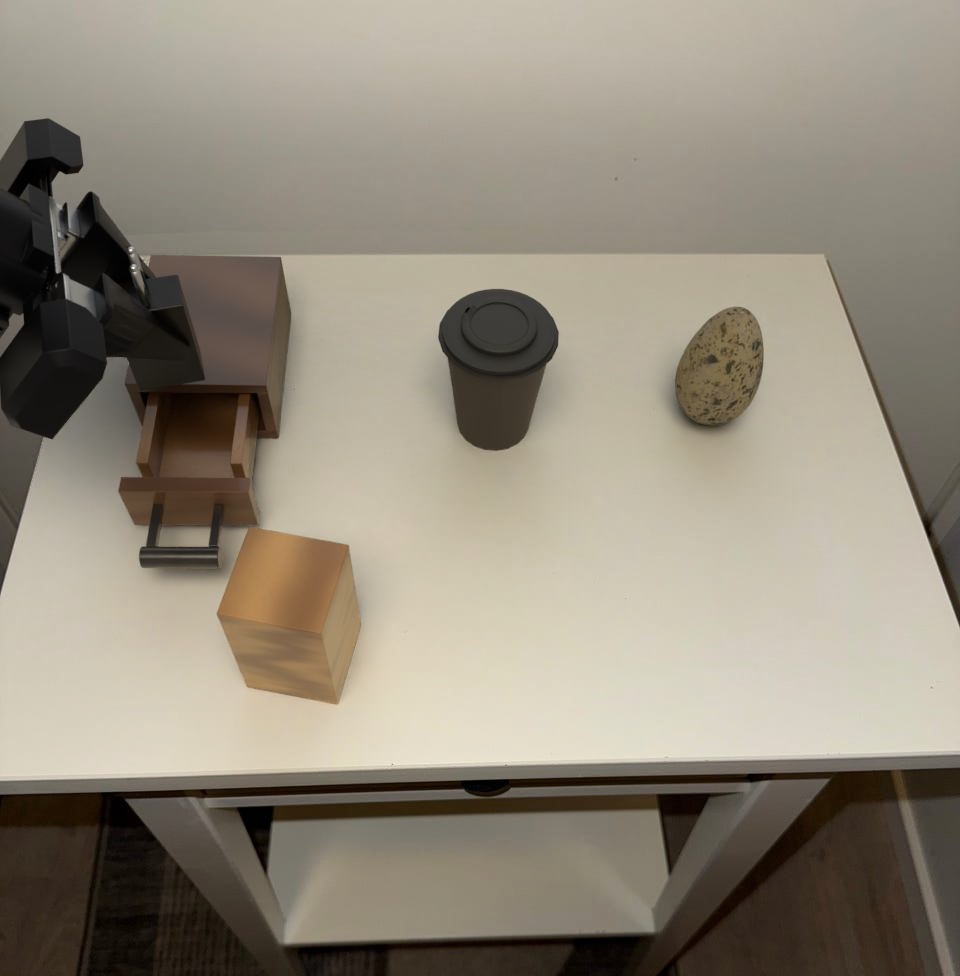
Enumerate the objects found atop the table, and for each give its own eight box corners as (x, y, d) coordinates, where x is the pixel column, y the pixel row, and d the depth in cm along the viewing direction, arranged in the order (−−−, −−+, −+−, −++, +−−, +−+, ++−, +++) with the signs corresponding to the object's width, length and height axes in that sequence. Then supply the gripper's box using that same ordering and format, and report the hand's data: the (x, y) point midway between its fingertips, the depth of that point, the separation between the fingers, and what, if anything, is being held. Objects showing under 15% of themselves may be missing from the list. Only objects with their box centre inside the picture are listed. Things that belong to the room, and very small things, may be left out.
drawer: (251, 584, 65) (241, 553, 62) (123, 584, 65) (106, 552, 61) (272, 397, 73) (263, 360, 69) (157, 396, 72) (143, 358, 69)
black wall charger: (139, 392, 60) (95, 278, 52) (135, 361, 61) (91, 245, 53) (205, 380, 60) (171, 267, 53) (200, 350, 62) (166, 234, 54)
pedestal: (246, 687, 63) (215, 613, 54) (273, 607, 65) (248, 525, 57) (338, 705, 62) (321, 633, 54) (361, 623, 65) (349, 544, 57)
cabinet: (278, 438, 72) (266, 385, 67) (146, 437, 72) (124, 384, 67) (291, 313, 78) (281, 256, 73) (169, 312, 78) (150, 254, 73)
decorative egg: (659, 385, 76) (687, 282, 67) (734, 381, 76) (772, 278, 67) (674, 446, 73) (705, 347, 64) (752, 441, 73) (794, 342, 64)
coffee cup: (435, 383, 75) (433, 279, 66) (540, 378, 76) (552, 274, 67) (442, 468, 71) (442, 370, 62) (553, 462, 72) (568, 364, 63)
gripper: (-158, 196, 56) (101, 313, 67) (-171, 450, 47) (128, 535, 59) (-77, 38, 50) (192, 196, 61) (-75, 296, 41) (236, 423, 53)
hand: (183, 336), depth 59 cm, fingers closed on black wall charger, 2 cm apart
